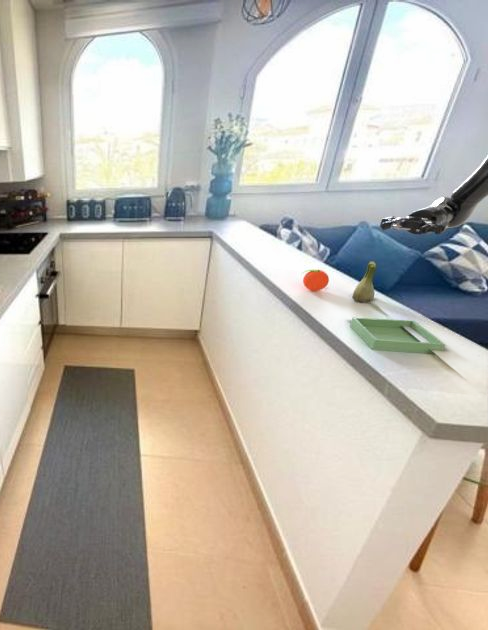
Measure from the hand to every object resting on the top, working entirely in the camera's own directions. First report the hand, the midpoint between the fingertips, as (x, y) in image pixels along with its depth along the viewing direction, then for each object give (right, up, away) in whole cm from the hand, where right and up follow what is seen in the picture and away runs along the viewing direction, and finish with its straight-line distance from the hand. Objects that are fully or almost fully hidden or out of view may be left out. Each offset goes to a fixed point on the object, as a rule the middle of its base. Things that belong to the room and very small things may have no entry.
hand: (401, 228), depth 101 cm
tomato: (-17, -17, +14) cm, 28 cm away
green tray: (-18, -31, -16) cm, 39 cm away
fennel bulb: (-8, -21, +4) cm, 23 cm away
